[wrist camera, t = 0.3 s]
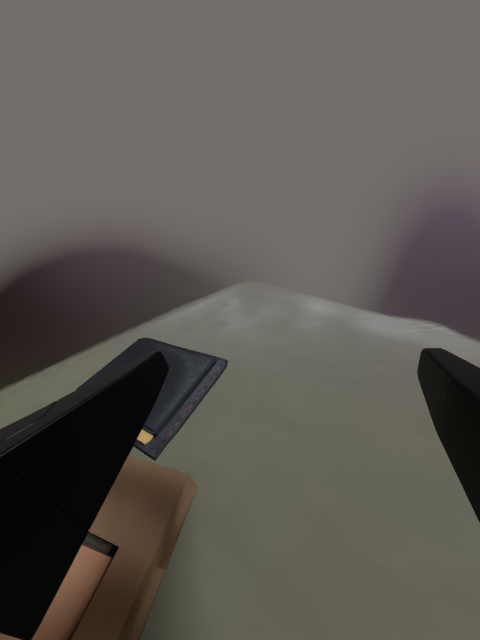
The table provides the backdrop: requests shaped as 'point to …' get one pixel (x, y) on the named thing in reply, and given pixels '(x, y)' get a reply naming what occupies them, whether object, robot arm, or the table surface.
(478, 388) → the robot arm
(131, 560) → the pocket board
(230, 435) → the table surface
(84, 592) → the block
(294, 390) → the table surface
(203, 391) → the dark blue flat slab
